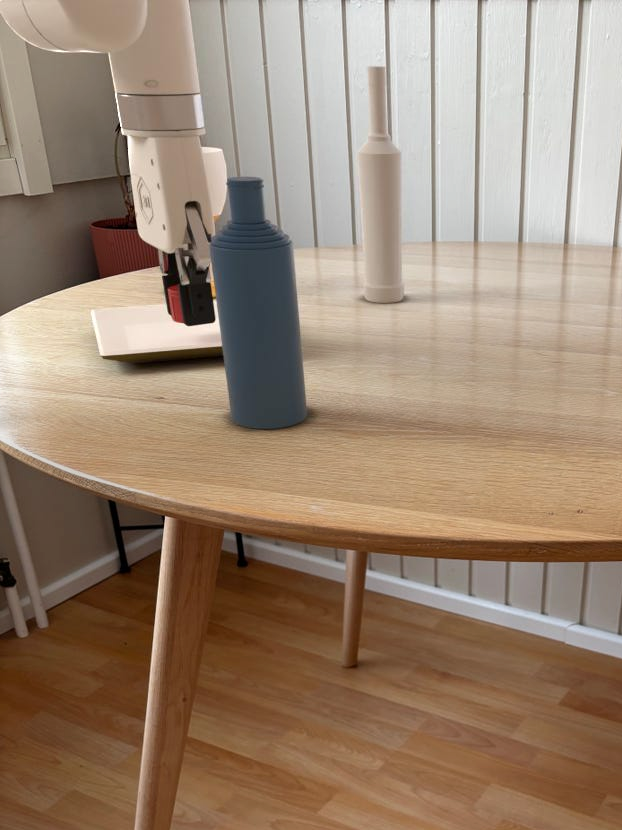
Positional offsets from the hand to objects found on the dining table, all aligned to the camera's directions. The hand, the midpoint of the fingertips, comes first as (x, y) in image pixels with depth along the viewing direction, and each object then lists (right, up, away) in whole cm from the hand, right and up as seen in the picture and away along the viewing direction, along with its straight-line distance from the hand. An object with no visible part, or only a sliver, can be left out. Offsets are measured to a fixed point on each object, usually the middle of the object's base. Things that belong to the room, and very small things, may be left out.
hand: (191, 317), depth 97 cm
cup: (-5, +11, +24) cm, 27 cm away
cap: (0, 0, 0) cm, 0 cm away
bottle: (+18, +10, +22) cm, 30 cm away
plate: (-1, -2, +3) cm, 4 cm away
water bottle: (+12, -14, -16) cm, 24 cm away
